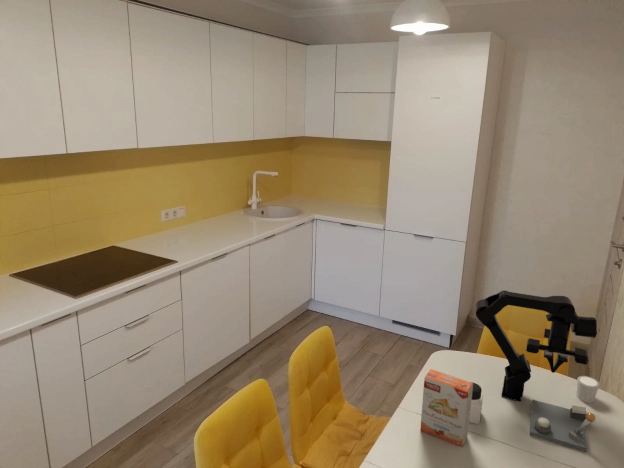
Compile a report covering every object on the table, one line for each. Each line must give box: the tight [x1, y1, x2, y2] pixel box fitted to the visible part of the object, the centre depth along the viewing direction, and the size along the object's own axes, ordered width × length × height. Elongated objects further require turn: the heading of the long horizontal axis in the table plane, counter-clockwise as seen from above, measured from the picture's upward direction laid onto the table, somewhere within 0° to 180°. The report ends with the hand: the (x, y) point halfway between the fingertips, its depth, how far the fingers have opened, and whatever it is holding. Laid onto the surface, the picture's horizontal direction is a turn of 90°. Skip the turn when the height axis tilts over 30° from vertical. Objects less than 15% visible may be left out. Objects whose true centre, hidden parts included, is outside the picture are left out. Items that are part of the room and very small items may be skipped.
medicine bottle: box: [469, 381, 484, 425], centre depth 154 cm, size 7×7×12 cm
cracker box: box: [420, 368, 474, 448], centre depth 145 cm, size 14×6×21 cm, turn 56°
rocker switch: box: [571, 405, 587, 414], centre depth 152 cm, size 4×2×1 cm, turn 62°
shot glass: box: [575, 375, 600, 403], centre depth 164 cm, size 7×7×7 cm
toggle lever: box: [575, 412, 596, 435], centre depth 141 cm, size 3×3×10 cm
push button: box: [538, 418, 549, 428], centre depth 147 cm, size 3×3×1 cm
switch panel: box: [529, 399, 588, 453], centre depth 150 cm, size 16×18×3 cm
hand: (552, 372), depth 160 cm, fingers closed
